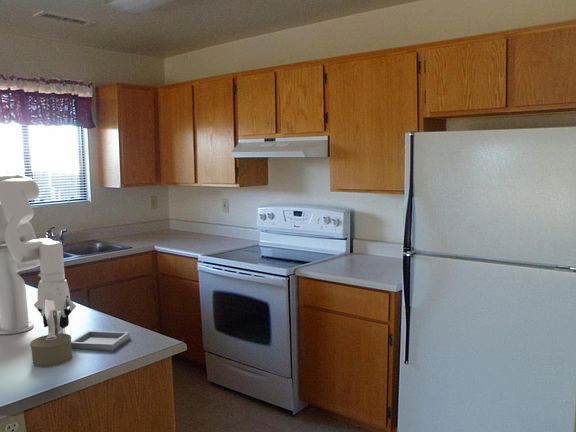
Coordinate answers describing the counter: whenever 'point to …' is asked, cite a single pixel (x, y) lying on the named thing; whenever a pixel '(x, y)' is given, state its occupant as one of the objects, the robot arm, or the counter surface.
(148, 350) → the counter surface
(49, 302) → the beer glass
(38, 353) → the can
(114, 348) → the tray
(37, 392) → the counter surface
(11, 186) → the robot arm
